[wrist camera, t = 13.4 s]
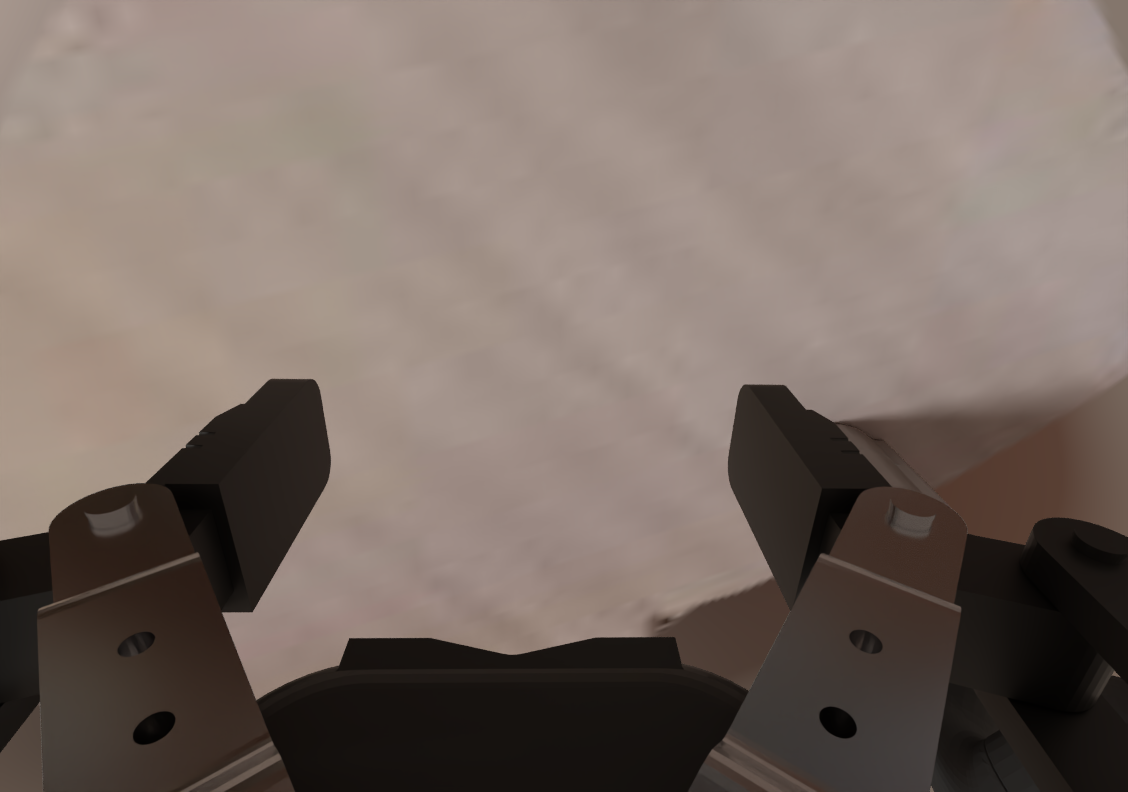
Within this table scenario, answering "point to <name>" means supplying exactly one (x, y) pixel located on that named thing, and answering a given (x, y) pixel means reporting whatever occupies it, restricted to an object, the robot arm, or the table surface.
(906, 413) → the table surface
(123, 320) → the table surface
